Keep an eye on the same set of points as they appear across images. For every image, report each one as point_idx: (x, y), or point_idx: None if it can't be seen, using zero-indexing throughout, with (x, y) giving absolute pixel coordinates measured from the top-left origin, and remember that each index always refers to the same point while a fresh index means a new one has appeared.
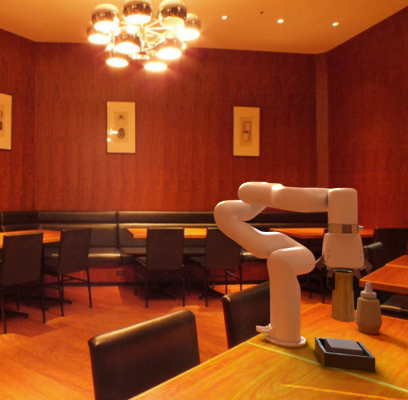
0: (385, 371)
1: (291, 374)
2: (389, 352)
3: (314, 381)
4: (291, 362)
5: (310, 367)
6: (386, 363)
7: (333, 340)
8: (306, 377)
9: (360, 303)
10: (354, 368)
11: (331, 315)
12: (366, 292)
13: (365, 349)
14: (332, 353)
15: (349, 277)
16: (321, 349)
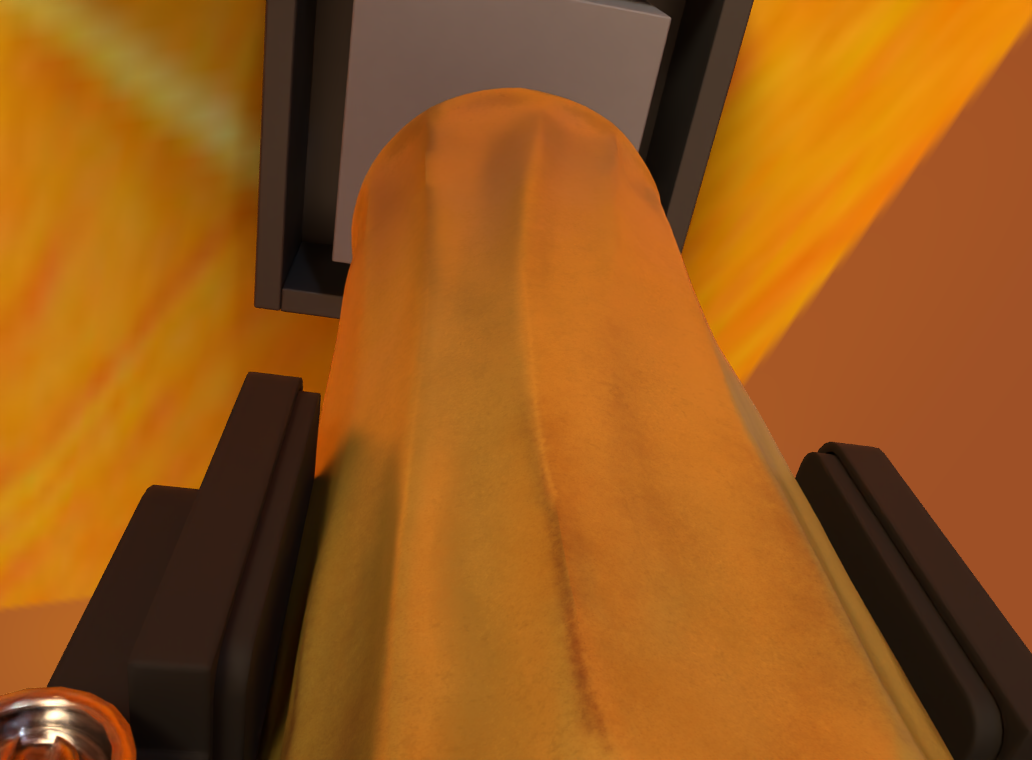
0: (735, 244)
1: (6, 382)
2: None
3: (154, 456)
4: (20, 169)
5: (170, 248)
6: (854, 83)
7: (426, 61)
8: (110, 411)
9: None
10: None
11: (360, 208)
12: None
13: (682, 180)
14: (324, 313)
15: None
16: (260, 195)
